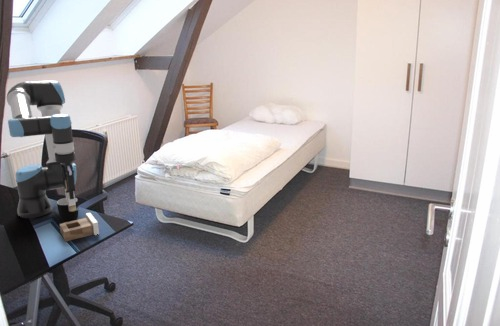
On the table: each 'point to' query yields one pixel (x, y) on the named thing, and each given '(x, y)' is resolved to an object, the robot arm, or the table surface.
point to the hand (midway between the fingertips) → (71, 203)
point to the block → (76, 229)
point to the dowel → (71, 208)
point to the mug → (67, 211)
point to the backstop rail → (93, 223)
